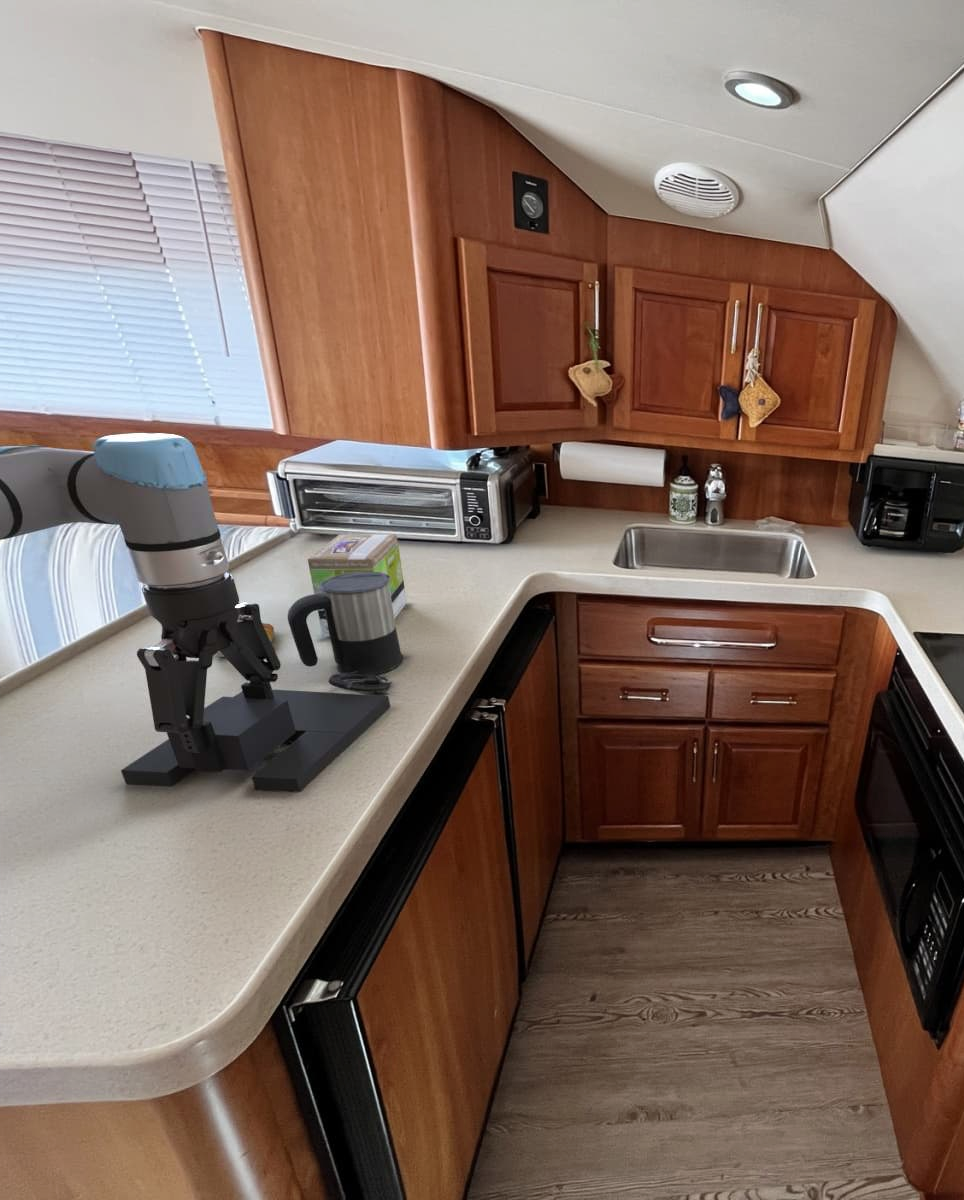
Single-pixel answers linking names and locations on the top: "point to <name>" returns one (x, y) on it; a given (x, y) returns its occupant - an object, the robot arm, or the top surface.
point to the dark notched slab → (316, 744)
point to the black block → (242, 731)
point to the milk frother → (352, 629)
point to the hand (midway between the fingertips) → (240, 747)
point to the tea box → (359, 565)
